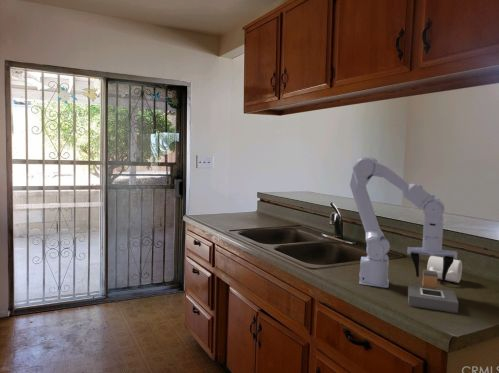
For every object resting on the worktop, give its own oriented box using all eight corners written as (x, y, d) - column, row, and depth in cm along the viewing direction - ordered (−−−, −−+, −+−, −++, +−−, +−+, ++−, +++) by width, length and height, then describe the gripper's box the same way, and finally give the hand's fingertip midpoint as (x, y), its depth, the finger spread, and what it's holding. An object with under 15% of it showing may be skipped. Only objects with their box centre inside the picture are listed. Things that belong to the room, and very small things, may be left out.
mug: (432, 274, 146) (433, 253, 146) (461, 280, 140) (462, 258, 139) (423, 281, 137) (424, 259, 136) (454, 288, 131) (455, 265, 130)
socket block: (408, 305, 114) (409, 295, 113) (407, 293, 124) (408, 284, 123) (457, 313, 109) (458, 302, 109) (452, 300, 119) (453, 290, 119)
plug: (422, 294, 124) (423, 272, 123) (422, 290, 128) (423, 269, 127) (436, 295, 123) (437, 274, 122) (435, 291, 126) (436, 271, 126)
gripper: (408, 236, 123) (406, 278, 124) (459, 241, 117) (457, 284, 118) (408, 232, 129) (406, 272, 130) (456, 236, 124) (454, 277, 125)
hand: (430, 277), depth 125 cm, fingers open, 7 cm apart
